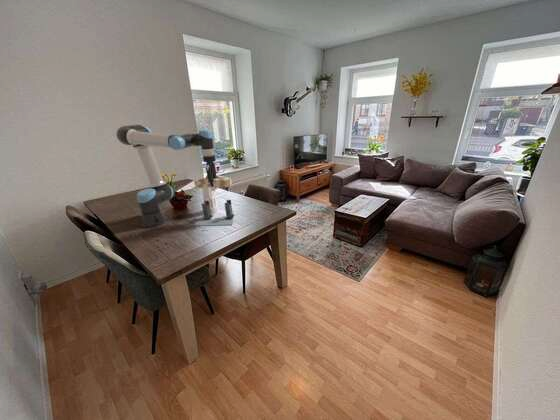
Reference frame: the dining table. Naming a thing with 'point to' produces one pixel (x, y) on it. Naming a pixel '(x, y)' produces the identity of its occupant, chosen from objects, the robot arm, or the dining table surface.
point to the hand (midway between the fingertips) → (214, 189)
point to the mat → (214, 223)
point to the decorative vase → (210, 199)
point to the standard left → (206, 210)
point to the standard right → (228, 210)
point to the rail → (218, 183)
